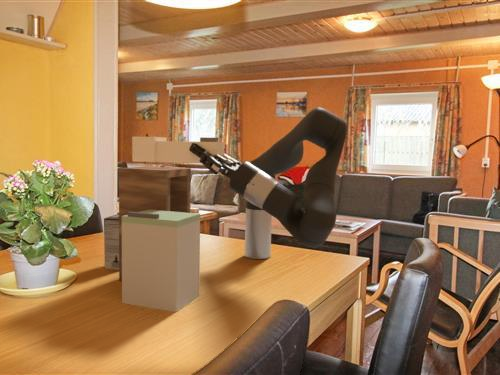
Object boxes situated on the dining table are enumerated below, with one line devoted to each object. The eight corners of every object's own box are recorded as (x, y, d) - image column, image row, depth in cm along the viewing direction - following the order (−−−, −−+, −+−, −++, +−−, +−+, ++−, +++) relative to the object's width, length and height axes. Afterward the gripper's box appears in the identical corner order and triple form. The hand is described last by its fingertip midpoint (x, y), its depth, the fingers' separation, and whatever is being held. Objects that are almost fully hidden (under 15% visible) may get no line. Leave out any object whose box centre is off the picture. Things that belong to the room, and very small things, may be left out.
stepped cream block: (146, 160, 111) (146, 137, 110) (225, 163, 103) (226, 138, 103) (132, 161, 105) (132, 136, 104) (215, 164, 98) (215, 137, 97)
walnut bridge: (146, 268, 136) (146, 166, 133) (189, 274, 131) (190, 168, 128) (119, 281, 123) (118, 168, 120) (165, 287, 118) (166, 170, 115)
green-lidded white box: (149, 288, 117) (149, 205, 115) (199, 295, 112) (200, 209, 110) (122, 302, 106) (121, 211, 104) (176, 312, 101) (177, 216, 99)
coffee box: (118, 261, 143) (118, 213, 141) (136, 263, 142) (136, 214, 140) (103, 269, 134) (103, 217, 132) (122, 270, 133) (122, 219, 131)
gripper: (271, 169, 104) (215, 133, 108) (252, 172, 91) (189, 131, 95) (256, 195, 106) (201, 159, 110) (235, 202, 93) (173, 160, 97)
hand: (196, 146), depth 102 cm, fingers closed on stepped cream block, 4 cm apart
